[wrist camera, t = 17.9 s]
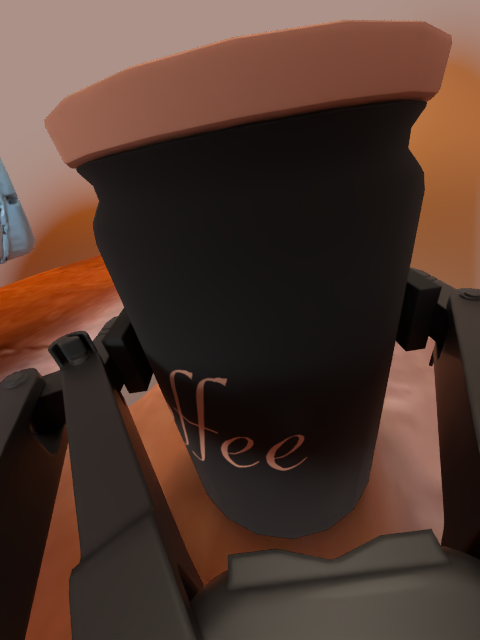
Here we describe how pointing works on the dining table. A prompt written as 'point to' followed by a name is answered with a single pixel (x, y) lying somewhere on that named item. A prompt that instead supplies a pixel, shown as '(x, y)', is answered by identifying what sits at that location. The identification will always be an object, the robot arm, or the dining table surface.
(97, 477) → the robot arm
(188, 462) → the dining table surface
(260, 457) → the coffee jar
